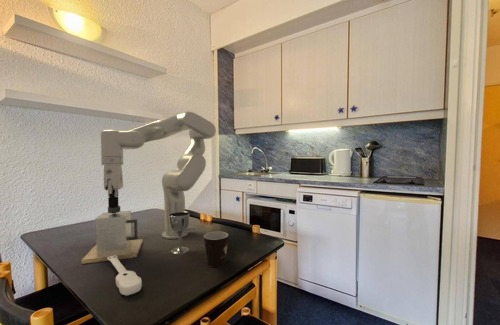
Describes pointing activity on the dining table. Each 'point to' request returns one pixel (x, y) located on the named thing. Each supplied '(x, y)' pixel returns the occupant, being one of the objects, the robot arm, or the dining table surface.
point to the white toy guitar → (125, 278)
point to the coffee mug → (216, 248)
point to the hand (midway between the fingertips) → (113, 206)
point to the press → (114, 238)
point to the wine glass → (179, 228)
